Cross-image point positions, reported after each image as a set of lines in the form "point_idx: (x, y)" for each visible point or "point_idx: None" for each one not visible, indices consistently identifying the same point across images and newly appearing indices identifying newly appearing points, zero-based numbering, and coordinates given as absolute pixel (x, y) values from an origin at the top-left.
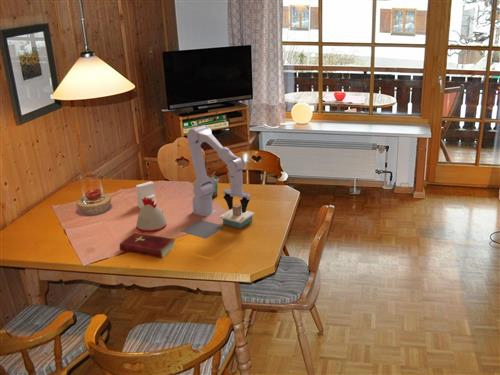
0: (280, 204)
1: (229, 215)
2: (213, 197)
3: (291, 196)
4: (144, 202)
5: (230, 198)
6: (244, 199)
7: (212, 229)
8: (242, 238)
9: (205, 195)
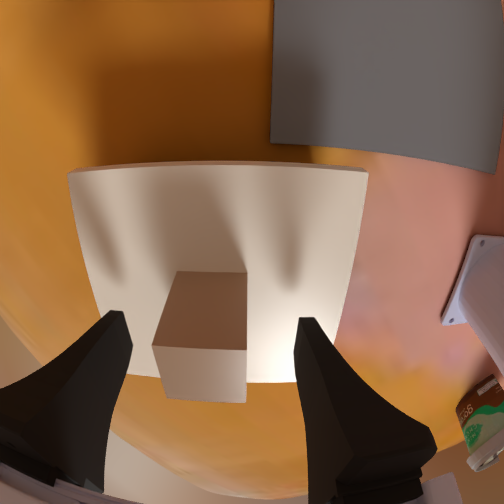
0: (189, 457)
1: (272, 245)
2: (468, 396)
3: (203, 483)
4: None
5: (321, 455)
6: (17, 450)
7: (340, 37)
8: (40, 68)
9: None
